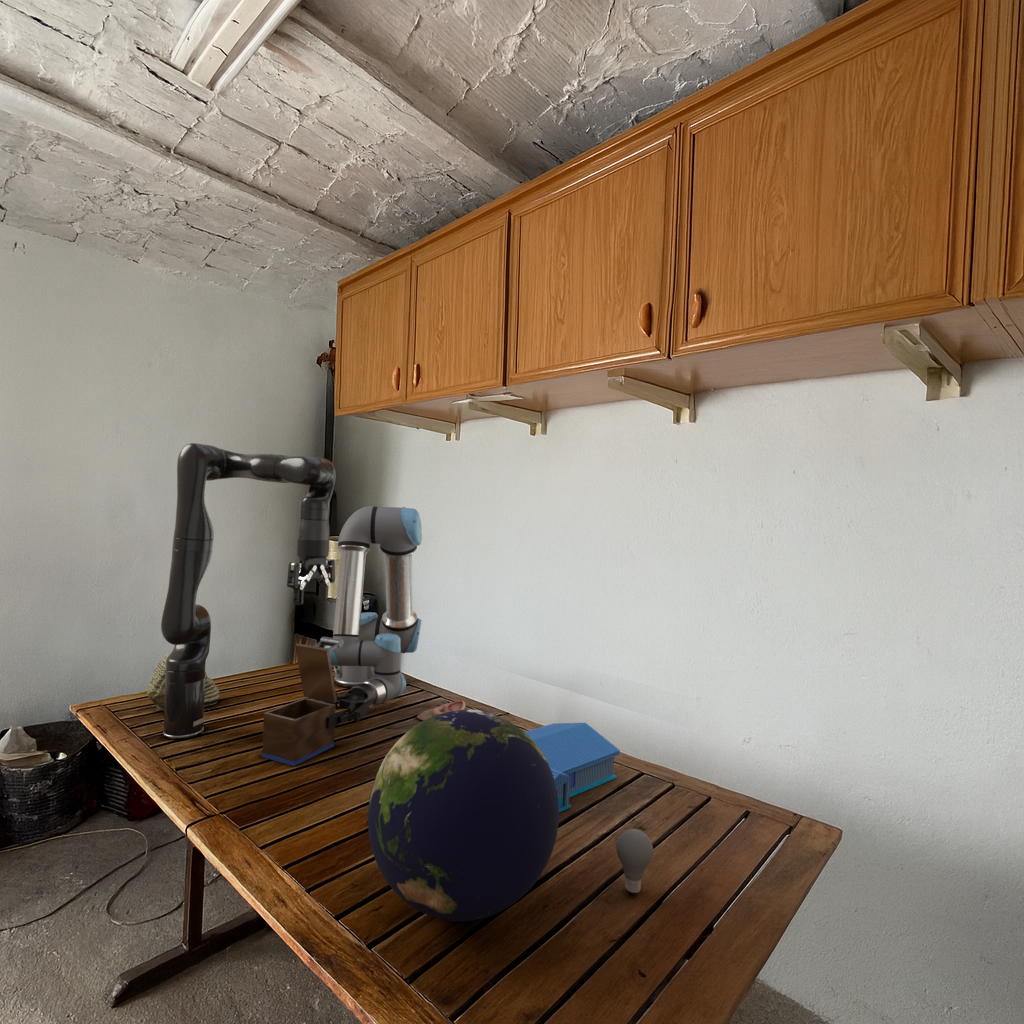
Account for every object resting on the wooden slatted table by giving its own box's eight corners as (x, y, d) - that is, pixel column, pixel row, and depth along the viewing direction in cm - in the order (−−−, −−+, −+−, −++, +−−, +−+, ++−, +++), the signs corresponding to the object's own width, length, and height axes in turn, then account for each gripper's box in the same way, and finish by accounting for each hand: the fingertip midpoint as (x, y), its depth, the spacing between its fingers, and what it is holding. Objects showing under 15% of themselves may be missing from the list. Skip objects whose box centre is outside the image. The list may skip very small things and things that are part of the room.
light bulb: (610, 879, 108) (613, 822, 108) (644, 879, 109) (647, 822, 109) (619, 902, 102) (622, 840, 102) (655, 901, 103) (658, 840, 103)
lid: (326, 650, 156) (348, 635, 164) (294, 644, 161) (318, 630, 168) (334, 703, 160) (356, 686, 168) (303, 696, 164) (326, 680, 172)
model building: (501, 837, 120) (504, 785, 120) (427, 790, 139) (429, 744, 138) (628, 782, 147) (630, 739, 147) (552, 748, 165) (553, 710, 165)
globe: (322, 932, 92) (330, 728, 92) (425, 835, 120) (432, 678, 119) (512, 1001, 81) (522, 769, 81) (577, 877, 109) (585, 703, 108)
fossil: (144, 707, 182) (145, 655, 182) (212, 696, 194) (213, 647, 194) (151, 716, 175) (153, 662, 175) (221, 703, 188) (223, 653, 188)
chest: (294, 766, 148) (295, 720, 148) (261, 757, 152) (263, 712, 152) (334, 746, 161) (335, 704, 160) (303, 738, 165) (305, 697, 165)
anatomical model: (413, 707, 181) (426, 695, 192) (412, 720, 181) (426, 708, 192) (457, 712, 178) (468, 699, 189) (457, 726, 178) (468, 713, 189)
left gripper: (304, 539, 149) (302, 608, 150) (344, 537, 162) (341, 600, 163) (280, 537, 153) (278, 604, 153) (321, 535, 165) (319, 597, 166)
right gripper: (398, 716, 175) (346, 742, 155) (334, 702, 185) (276, 725, 165) (399, 689, 175) (347, 712, 155) (335, 676, 185) (277, 696, 164)
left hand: (311, 602), depth 158 cm, fingers open, 8 cm apart
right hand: (310, 719), depth 160 cm, fingers closed on chest, 10 cm apart
